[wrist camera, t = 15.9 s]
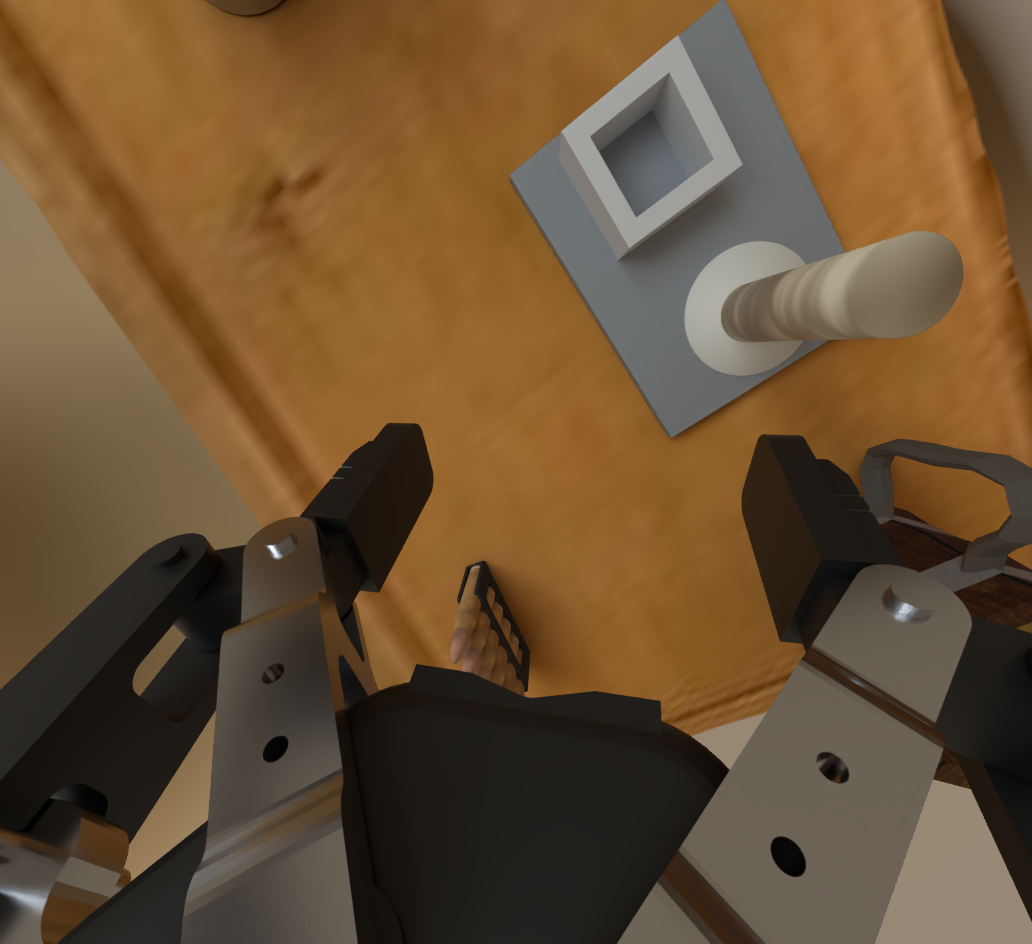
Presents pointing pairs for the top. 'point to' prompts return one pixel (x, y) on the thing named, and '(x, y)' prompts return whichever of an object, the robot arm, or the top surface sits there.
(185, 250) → the top surface
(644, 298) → the board
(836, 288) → the peg
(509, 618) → the ammunition clip
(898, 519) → the mug
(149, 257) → the top surface
